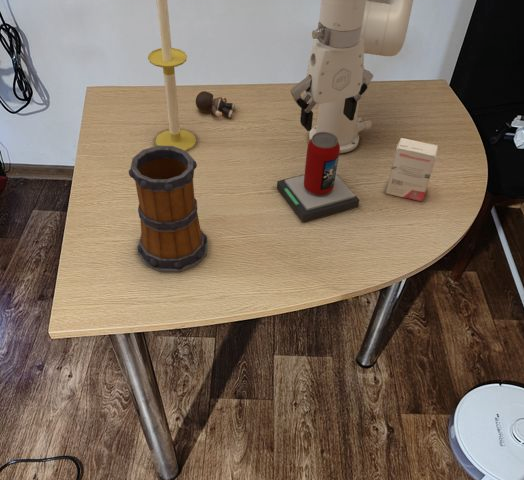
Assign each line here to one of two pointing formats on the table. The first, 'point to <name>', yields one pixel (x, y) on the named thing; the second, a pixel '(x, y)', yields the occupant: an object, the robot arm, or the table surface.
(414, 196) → the ink box
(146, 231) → the mug
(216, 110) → the figurine
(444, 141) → the table surface
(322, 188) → the beverage can
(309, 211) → the scale
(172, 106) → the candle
